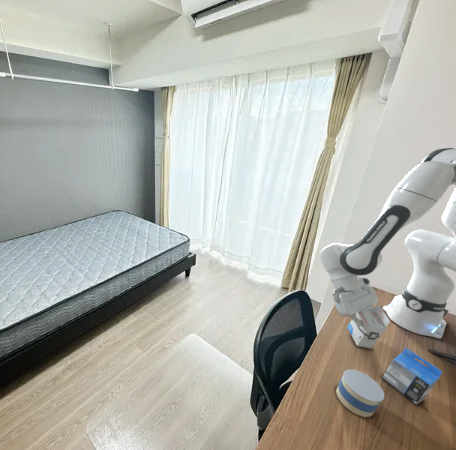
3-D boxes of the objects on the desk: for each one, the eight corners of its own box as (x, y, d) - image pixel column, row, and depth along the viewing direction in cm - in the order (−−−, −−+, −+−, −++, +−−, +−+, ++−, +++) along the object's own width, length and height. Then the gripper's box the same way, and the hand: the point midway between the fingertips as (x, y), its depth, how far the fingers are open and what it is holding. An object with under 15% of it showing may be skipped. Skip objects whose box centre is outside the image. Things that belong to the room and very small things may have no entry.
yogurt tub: (346, 380, 77) (354, 364, 74) (381, 409, 69) (391, 393, 67) (328, 392, 73) (336, 376, 71) (363, 423, 66) (373, 407, 63)
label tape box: (381, 377, 78) (397, 349, 74) (389, 373, 80) (405, 346, 75) (415, 405, 71) (436, 376, 66) (423, 400, 72) (444, 371, 67)
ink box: (346, 327, 97) (362, 300, 89) (360, 329, 96) (377, 303, 89) (356, 346, 89) (374, 319, 82) (371, 349, 88) (391, 322, 81)
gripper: (339, 289, 87) (360, 330, 82) (370, 277, 95) (391, 313, 91) (323, 292, 92) (342, 330, 88) (354, 280, 100) (372, 315, 96)
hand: (367, 322), depth 89 cm, fingers open, 7 cm apart
